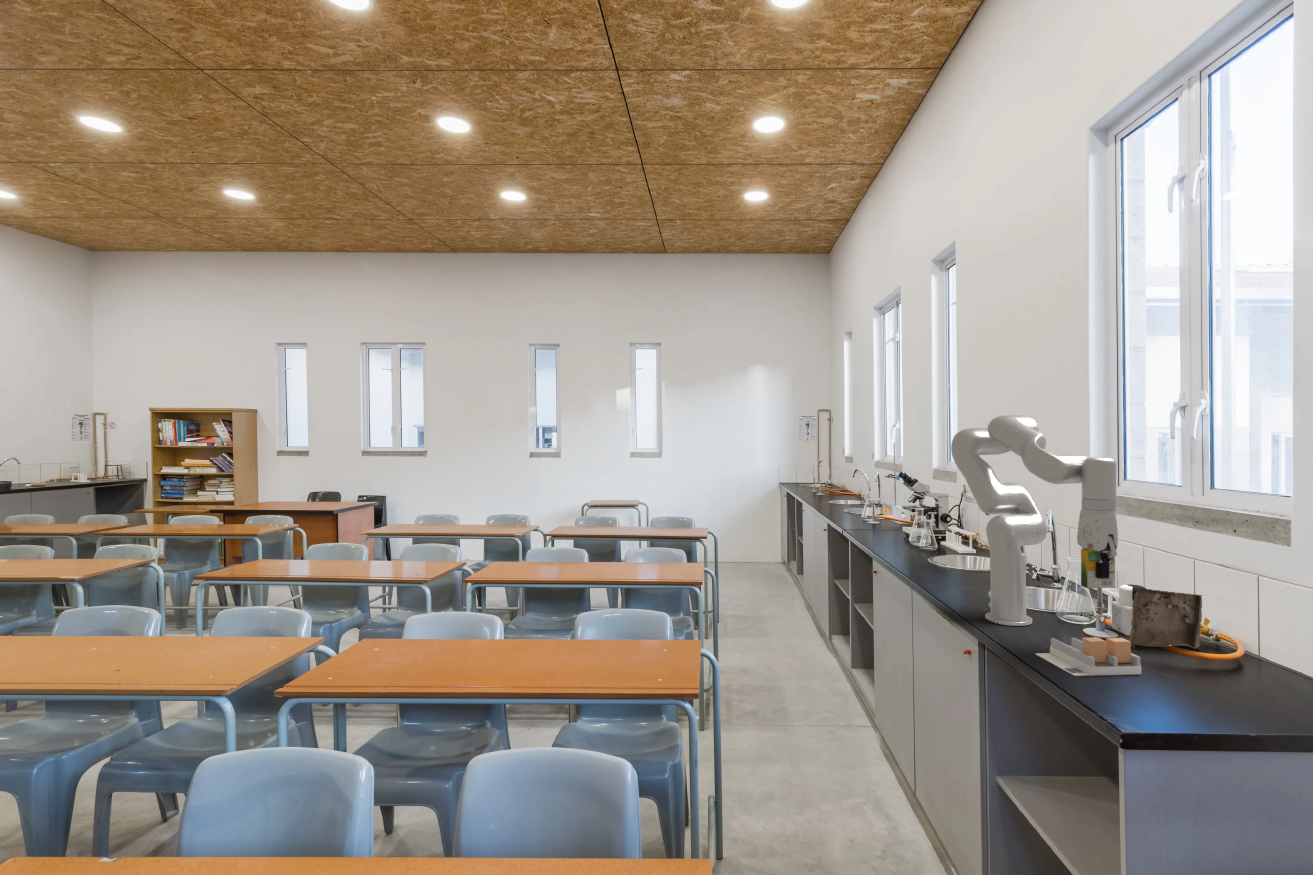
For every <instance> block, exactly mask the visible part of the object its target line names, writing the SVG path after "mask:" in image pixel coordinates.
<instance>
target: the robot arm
mask: <svg viewBox="0 0 1313 875" xmlns="http://www.w3.org/2000/svg"><path fill="white" fill-rule="evenodd" d="M1039 430H1040V429H1039V426H1038V424H1037V422H1036V421H1035V419H1033V418H1032V417H1031V416H1027V415H1000V416H997V417H994V418H993V419H992V420H990V422H989V423H988V425H987V427H973V428H970V427H969V428H966V429H961V430H959V431H958V432H956V434H955V435H954V436H953V438H952V441H951V448H950V450H951V456H952V459H953V461H954V463H955V465H956V467H957V469H958V470H959V472H960V473H961V475H962V476H963V477H964V479H965V481H966V483H967V485H968V488H969V490H970V492H971V494H972V496H973V497H974V498H973V499H974V500H975V502H976V504H977V506H978V507H979V509H980V511H982V512H983V513H985V514H988V515H995V516H994V517H992V518H990V519H989V520H988V522H987V524H986V526H985V528H986V529H985V534H986V538H987V543H988V548H989V567H990V571H989V573H990V574H989V575H990V579H989V581H990V602H989V603H988V606H989V608H990V612H986V613H985V615H984V619H985V618H986V619H987V620H986V619H985V620H986V621H988V620H989V621H988V622H990V621H991V622H990V623H993V622H994V624H997V623H998V625H1003V626H1012V627H1022V626H1023V627H1024V626H1029V625H1032V623H1033V618H1032V617H1031V616H1029V615H1027V563H1026V559H1025V556H1024V553H1023V552H1022V550H1021V547H1022V546H1034V545H1038V544H1041V543H1042V542H1044V540H1045V539H1046V537H1047V534H1048V532H1047V531H1048V529H1047V525H1046V524H1047V523H1046V521H1045V518H1043V515H1042V513H1041V512H1040V510H1039V508H1038V506H1037V505H1036V503H1035V501H1034V498H1032V495H1031V494H1030V492H1029V491H1028V489H1027V488H1026V487H1024V486H1023V485H1022V484H1019V483H1018V482H1002V481H1001V480H1000V479H999V478H998V476H997V474H996V473H995V471H994V469H993V468H992V466H991V465H990V464H989V463H988V462H986V460H984V459H983V458H982V457H981V456H988V455H990V456H991V455H992V456H995V455H997V456H998V455H1003V454H1006V453H1009V452H1011V453H1013V454H1016V455H1017V456H1019V457H1021V461H1022V463H1023V465H1024V468H1026V470H1028V472H1030V473H1031V474H1033V475H1034V476H1036V477H1038V478H1039V479H1040V480H1043V481H1044V482H1046V483H1048V484H1049V483H1050V484H1054V485H1063V484H1064V485H1065V484H1066V485H1067V484H1070V485H1071V484H1081V509H1080V512H1079V516H1078V523H1077V524H1078V525H1077V537H1076V538H1077V539H1076V541H1077V545H1079V546H1080V547H1081V549H1087V547H1088V546H1087V544H1089V543H1091V549H1092V550H1094V551H1097V561H1098V562H1096V578H1109V563H1111V559H1112V558H1113V557H1115V558H1116V556H1118V554H1117V549H1118V543H1119V542H1118V541H1119V538H1118V537H1119V533H1118V521H1117V515H1116V511H1117V461H1116V460H1115V459H1113V458H1110V457H1100V456H1099V457H1097V456H1095V457H1092V456H1088V455H1082V454H1081V455H1080V454H1078V455H1073V454H1072V455H1070V454H1069V455H1068V454H1067V455H1064V454H1063V455H1055V454H1052V453H1050V452H1048V451H1047V450H1045V448H1046V446H1047V437H1045V435H1044V434H1043V433H1042V432H1040V431H1039ZM1105 548H1106V550H1104V549H1105ZM1102 553H1106V554H1104V555H1103V556H1102Z"/></svg>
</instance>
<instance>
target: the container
mask: <svg viewBox="0 0 1313 875" xmlns="http://www.w3.org/2000/svg"><path fill="white" fill-rule="evenodd" d="M1118 589H1119V590H1118V592H1119V593H1118V595H1119V596H1118V598H1119V599H1118V600H1119V601H1118V600H1117V601H1111V627H1112V629H1113V630H1114V631H1115V630H1116V631H1117V632H1118V633H1121V634H1123V635H1125V636H1127V637H1130V634H1131V628H1132V625H1131V622H1132V618H1133V614H1132V611H1133V610H1132V609H1133V607H1132V605H1133V601H1134V597H1135V594H1136V593H1137V591H1138V590H1140V589H1147V588H1146V587H1145V586H1142V585H1139V584H1129V583H1128V584H1123V585H1120V586H1119V587H1118Z"/></svg>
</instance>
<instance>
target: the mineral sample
mask: <svg viewBox="0 0 1313 875" xmlns="http://www.w3.org/2000/svg"><path fill="white" fill-rule="evenodd" d="M1202 596H1203V594H1196V593H1195V594H1192V593H1185V592H1175V591H1169V590H1166V591H1165V590H1158V589H1157V590H1156V589H1151V588H1149V589H1148V588H1146V589H1140V590H1138V591H1137V593H1136V594H1135V597H1134V601H1133V605H1132V607H1133V609H1132V610H1133V611H1132V614H1133V618H1132V622H1131V625H1132V628H1131V634H1130V636H1128V639H1127V640H1128V641H1131V648H1133V649H1136V646H1143V647H1157V648H1158V647H1159V648H1169V645H1174V644H1189V645H1190V646H1192V647H1195V648H1198V647H1199V648H1200V647H1201V646H1202V645H1201V640H1202V638H1201V625H1202V619H1203V618H1202V617H1203V616H1202V614H1203V612H1202V609H1203V599H1202V598H1203V597H1202Z"/></svg>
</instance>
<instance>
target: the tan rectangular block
mask: <svg viewBox="0 0 1313 875" xmlns="http://www.w3.org/2000/svg"><path fill="white" fill-rule="evenodd" d="M1081 641H1082V652H1083V653H1085V654H1087V655H1089V656H1091V657H1093V658H1095V662H1106V639H1105V640H1104V639H1102V638H1100V637H1098V636H1097V637H1096V636H1094V637H1093V638H1092V637H1081Z"/></svg>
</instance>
